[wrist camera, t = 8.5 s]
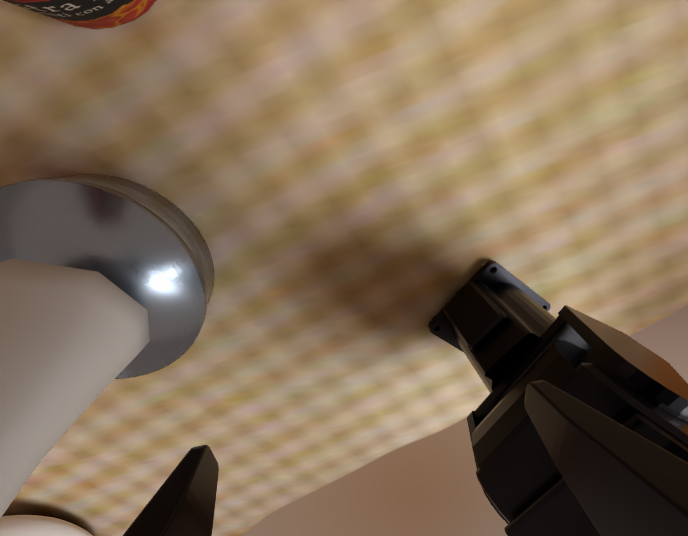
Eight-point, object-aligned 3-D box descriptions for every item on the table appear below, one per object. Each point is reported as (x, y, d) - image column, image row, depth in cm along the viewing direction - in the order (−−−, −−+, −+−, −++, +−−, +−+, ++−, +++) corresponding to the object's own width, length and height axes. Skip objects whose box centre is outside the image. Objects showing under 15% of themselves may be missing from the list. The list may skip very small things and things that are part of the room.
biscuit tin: (254, 242, 20) (244, 267, 17) (172, 365, 23) (151, 404, 20) (49, 120, 16) (-14, 122, 13) (-13, 288, 19) (-75, 322, 16)
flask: (174, 344, 18) (97, 594, 11) (35, 351, 18) (-134, 622, 11) (113, 250, 13) (-96, 608, 6) (-87, 256, 12) (-569, 664, 6)
